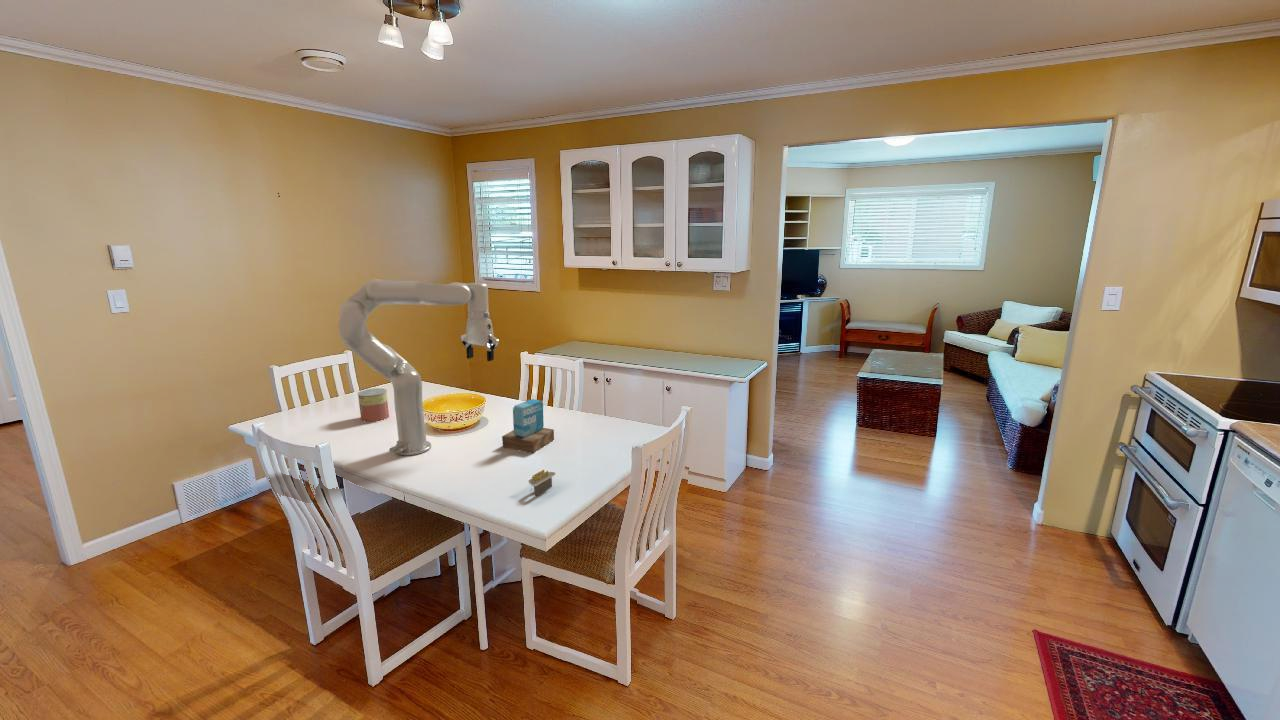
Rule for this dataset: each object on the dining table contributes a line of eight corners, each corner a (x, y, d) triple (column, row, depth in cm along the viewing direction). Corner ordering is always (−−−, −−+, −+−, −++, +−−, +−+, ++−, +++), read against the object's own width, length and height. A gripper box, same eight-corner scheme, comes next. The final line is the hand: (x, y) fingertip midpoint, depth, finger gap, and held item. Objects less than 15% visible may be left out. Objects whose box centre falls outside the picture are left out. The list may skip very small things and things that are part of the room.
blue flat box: (522, 438, 206) (521, 408, 203) (513, 436, 208) (512, 406, 205) (543, 429, 215) (543, 400, 213) (535, 426, 218) (534, 397, 215)
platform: (507, 498, 170) (506, 479, 169) (546, 477, 185) (545, 458, 184) (536, 508, 164) (535, 488, 163) (574, 485, 179) (573, 466, 178)
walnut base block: (533, 454, 204) (533, 441, 203) (502, 448, 209) (502, 436, 208) (554, 441, 216) (553, 429, 215) (524, 436, 222) (523, 424, 221)
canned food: (361, 416, 244) (358, 390, 241) (389, 412, 249) (386, 387, 246) (360, 424, 234) (357, 397, 231) (389, 420, 239) (386, 393, 236)
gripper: (503, 316, 210) (504, 359, 214) (466, 312, 217) (468, 355, 220) (490, 318, 203) (492, 363, 207) (453, 314, 210) (455, 358, 214)
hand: (480, 359), depth 214 cm, fingers open, 9 cm apart
